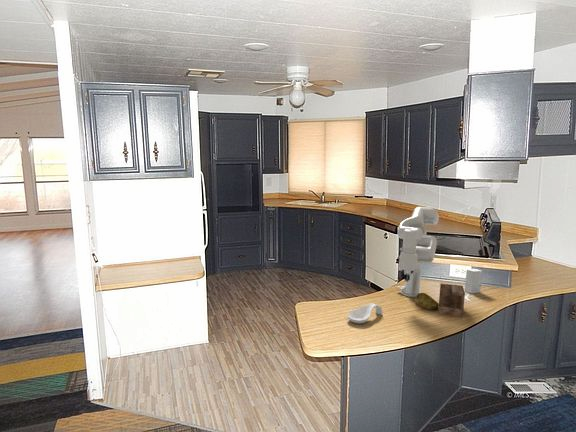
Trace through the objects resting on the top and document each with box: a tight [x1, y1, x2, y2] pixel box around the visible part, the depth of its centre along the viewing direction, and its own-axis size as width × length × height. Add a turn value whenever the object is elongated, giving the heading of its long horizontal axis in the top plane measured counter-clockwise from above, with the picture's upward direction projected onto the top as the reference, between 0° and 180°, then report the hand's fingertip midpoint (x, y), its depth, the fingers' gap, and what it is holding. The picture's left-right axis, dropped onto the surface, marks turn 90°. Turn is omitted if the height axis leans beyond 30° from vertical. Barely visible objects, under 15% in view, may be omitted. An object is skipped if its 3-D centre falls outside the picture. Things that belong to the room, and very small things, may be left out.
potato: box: [415, 292, 440, 311], centre depth 245 cm, size 8×13×8 cm, turn 29°
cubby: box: [438, 282, 466, 318], centre depth 241 cm, size 12×14×14 cm
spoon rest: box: [346, 303, 384, 325], centre depth 227 cm, size 24×12×7 cm, turn 130°
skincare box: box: [464, 268, 483, 294], centre depth 275 cm, size 8×6×15 cm
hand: (406, 280), depth 247 cm, fingers closed
